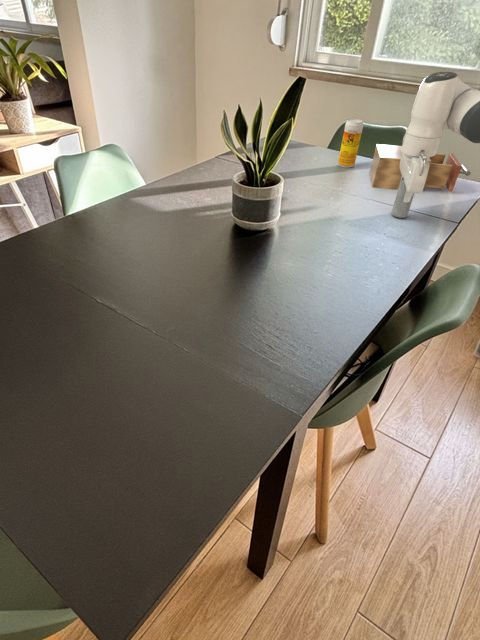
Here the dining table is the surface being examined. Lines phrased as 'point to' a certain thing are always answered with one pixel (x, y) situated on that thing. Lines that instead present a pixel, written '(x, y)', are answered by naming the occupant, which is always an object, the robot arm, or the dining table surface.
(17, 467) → the dining table surface
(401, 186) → the grey cylindrical tube
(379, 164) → the cabinet
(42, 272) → the dining table surface
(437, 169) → the drawer
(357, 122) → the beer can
